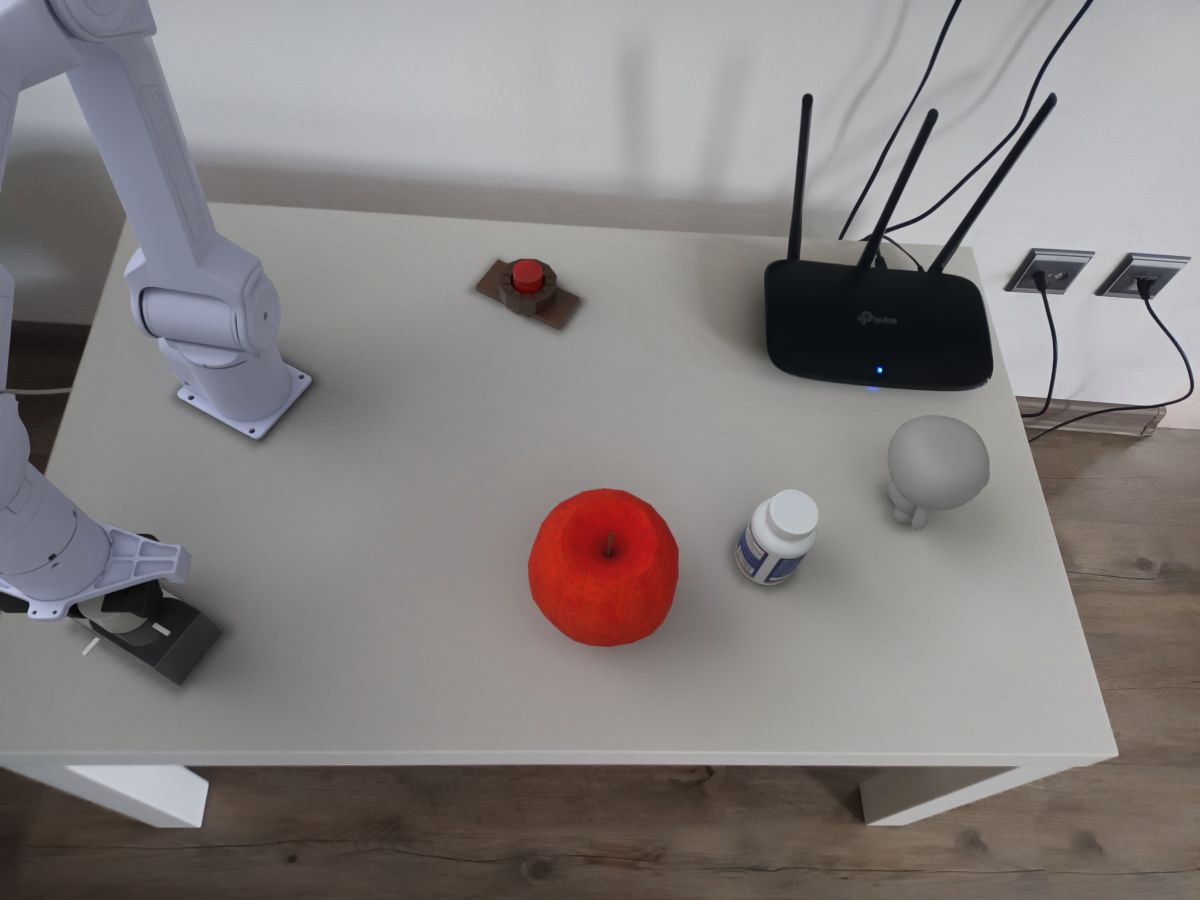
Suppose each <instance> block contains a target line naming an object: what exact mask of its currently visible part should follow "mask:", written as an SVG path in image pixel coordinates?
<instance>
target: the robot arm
mask: <svg viewBox="0 0 1200 900" xmlns="http://www.w3.org/2000/svg"><path fill="white" fill-rule="evenodd" d="M157 32H158V28H157V24H156V21H155V17H154V15H153V12H152V9H151V5H150V2H149V0H0V193H1V191H2V186H3V181H4V175H5V171H6V164H7V160H8V154H9V149H10V143H11V138H12V133H13V128H14V122H15V116H16V111H17V106H18V100H19V94H20V93H21V92H22V91H25V90H27V89H30V88H32V87H34V86H36V85H39V84H41V83H44V82H46V81H48V80H50V79H53V78H56V77H57V76H61V75H63V74H65V75H66V78H67V80H68V83H69V85H70V87H71V89H72V92H73V95H74V96H75V98H76V101H77V103H78V106H79V108H80V110H81V113H82V115H83V117H84V120H85V122H86V124H87V126H88V130H89V132H90V133H91V136H92V138H93V140H94V143H95V145H96V147H97V150H98V152H99V154H100V157H101V159H102V162H103V164H104V166H105V168H106V171H107V173H108V175H109V178H110V180H111V183H112V184H113V187H114V189H115V192H116V194H117V197H118V199H119V201H120V203H121V205H122V209H123V210H124V213H125V214H126V216H127V220H128V222H129V224H130V227H131V229H132V231H133V233H134V235H135V238H136V240H137V243H138V246H139V247H138V248H137V249H136V250H135V252H134V253H133V255H132V256H131V258H130V259H129V260H128V263H127V265H126V268H125V270H124V273H123V278H124V280H125V282H126V284H127V286H128V290H129V294H130V310H131V315H132V317H133V320H134V322H135V324H136V326H137V328H138V330H139V331H140V332H141V333H142V334H143V335H144V336H146V337H147V338H150V339H151V338H152V339H158V340H157V343H158V349H159V351H160V353H161V355H162V356H163V358H164V359H165V361H166V363H167V364H168V365H169V367H170V368H171V370H172V371H173V373H174V374H175V376H176V378H177V380H178V381H179V383H180V384H181V386H182V387H181V388H180V389H179V390H178V391H177V393H176V395H177V398H178V399H180V400H181V401H183V402H185V403H187V404H189V405H190V406H192V407H194V408H196V409H198V411H199V410H200V411H201V412H203V413H204V414H206V415H208V416H210V417H212V418H214V419H216V420H218V421H220V422H221V423H223V424H225V425H227V426H229V427H230V428H232V429H233V430H236V431H238V432H240V434H243V435H245V436H247V437H249V438H250V439H252V440H255V441H259V440H261V439H263V437H264V436H265V435H266V434H267V433H268V432H269V431H270V430H271V428H272V427H273V426H274V425H275V424H276V423H277V422H278V421H279V420H280V418H282V416H283V415H284V414H285V413H286V411H287V410H288V409H289V408H290V407H291V406H292V405H293V404H294V403H295V401H297V400H298V398H299V397H300V396H301V395H302V394H303V393H304V392H305V391H306V389H307V388H308V387H309V386H310V385H311V384H312V382H313V380H312V377H311V376H310V375H309V374H307V373H305V372H303V371H301V370H300V369H298V368H295V367H293V366H292V365H290V364H288V363H286V362H284V360H283V358H282V356H281V354H280V351H279V349H278V347H277V344H276V342H275V339H276V336H277V333H278V331H279V327H280V324H281V323H280V321H281V308H282V307H281V300H280V299H281V298H280V295H279V292H278V289H276V287H275V285H274V283H273V282H272V280H271V279H270V278H269V277H268V276H267V274H266V273H265V271H264V268H263V267H264V266H263V264H262V260H261V259H260V258H259V257H258V256H256V254H254V253H252V252H250V251H249V250H247V249H245V248H244V247H243V246H240V244H237V243H235V242H234V241H232V240H230V239H228V237H227V238H226V237H225V236H223V235H222V234H220V233H219V232H218V231H217V229H216V226H215V223H214V220H213V217H212V214H211V211H210V208H209V204H208V202H207V199H206V195H205V192H204V190H203V187H202V184H201V181H200V178H199V175H198V172H197V169H196V165H195V163H194V160H193V157H192V154H191V151H190V147H189V145H188V142H187V139H186V136H185V133H184V130H183V127H182V124H181V121H180V118H179V115H178V112H177V109H176V106H175V103H174V100H173V96H172V94H171V91H170V89H169V86H168V85H169V84H168V82H167V79H166V76H165V72H164V71H163V67H162V64H161V61H160V58H159V55H158V52H157V49H156V46H155V43H154V41H153V37H152V36H156V35H157ZM15 287H16V281H15V280H14V278H13V277H12V275H11V274H10V273H9V272H8V271H7V269H6V267H4V265H2V263H1V262H0V611H1V612H3V613H4V614H5V613H6V614H27V616H28V617H29V619H31V620H33V621H34V622H39V623H49V622H50V623H52V622H53V623H55V622H56V623H57V622H62V621H63V620H64V619H66V617H68V618H70V617H72V618H78V619H88V618H87V617H85V616H84V615H83V614H82V613H81V612H80V610H79V608H78V605H77V603H78V602H81V601H85V600H88V599H91V598H94V597H98V596H101V595H104V594H105V596H104V599H103V603H102V607H101V612H103V613H128V612H130V613H132V614H134V615H136V616H138V617H141V618H157V617H158V614H159V610H160V606H161V602H162V598H163V592H162V589H161V587H162V586H161V584H160V580H159V579H163V578H164V579H166V580H167V581H168V582H170V583H171V584H185V583H186V582H187V578H188V574H189V572H190V567H191V561H192V557H193V556H192V554H191V553H190V552H189V551H188V550H187V549H186V548H185V547H184V545H182V544H174V543H166V542H165V543H164V542H160V540H159V539H158V538H157V537H156V536H154V535H153V534H151V533H133V532H130V531H128V530H125V529H123V528H120V527H117V526H115V525H111V524H108V523H106V522H102V521H100V520H97V519H95V518H91V517H90V516H89V515H88V514H87V513H86V512H84V510H82V509H81V508H80V507H79V506H78V505H77V504H76V503H74V502H73V500H71V499H70V498H69V497H68V496H67V495H66V494H65V493H63V492H62V491H61V490H60V488H58V487H57V486H55V484H54V483H52V481H50V480H49V479H48V478H47V477H46V476H45V475H44V474H43V473H42V472H41V471H39V470H38V469H37V468H36V467H35V466H34V465H33V464H32V463H30V462H29V457H30V454H31V443H30V438H29V433H28V431H27V428H26V426H25V425H24V423H23V421H22V420H21V418H20V415H19V400H16V394H15V393H13V392H11V393H10V392H7V391H6V390H7V389H6V388H7V379H8V378H7V377H8V367H9V354H10V345H11V344H10V343H11V332H12V324H13V323H12V321H13V310H14V301H15ZM160 586H161V587H160Z"/></svg>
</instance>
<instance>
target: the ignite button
mask: <svg viewBox="0 0 1200 900" xmlns="http://www.w3.org/2000/svg"><path fill="white" fill-rule="evenodd" d="M542 282H543V270H542V267H541V266H540V265H539V264H538V263H537V262H535V261H532V260H523V261H520V262H518V263H517V264H516V265H515V266H514V268H513V285H514V287H515V288H516V289H517V290H518V291H519V292H521V293H525V294H531V293H535V292H537V291H538V290H539V289H540V288H541V287H542Z"/></svg>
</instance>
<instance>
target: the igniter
mask: <svg viewBox="0 0 1200 900" xmlns="http://www.w3.org/2000/svg"><path fill="white" fill-rule="evenodd" d="M523 260H532V261H535V262H537V263H538V264H539V265H540V266H541V267H542V270H543V282H542V287H541V288H540V289H539V290H538V291H537V292H535V293H531V294H525V293H521V292H519V291H518V290H517V289H516V288H515V287H514V285H513V268H514V266H515V265H516V264H517V263H518V262H520V261H523ZM557 277H558V275H557V274H556V273H555V271H554V270H553V268H552V267H551V266H550V264H548V263H546V262H543V261H541V260H539V259H537V258H518V259H515V260H513V261H511V262H508V263H507V262H506V261H504V260H501V259H499V258H498V259H497V260H496V261H495V262H494V264H492V265H491V266H490V268H489V269H488V271H487V272H486V273H485V274H484V275H483V277H481V278H480V280H479V281H478V283H477V284H476V285H475V291H476V292H478V293H480V294H482V295H484V296H486V297H489V298H490V299H493V300H495V301H497V302H499V303H501V304H503V305H504V306H505V307H506V308H507V309H509V310H511V311H514V312H515V313H517V314H523V315H526V316H528V317H530V318H532V319H535V320H536V321H539V322H540V323H542V324H544V325H547V326H549V327H551V328H552V329H555V330H556V331H559V330H561V328H562V326H564V324H565V322H566V321H567V320H568V318H569V317H570V315H571V314H572V313H573V312H574V310H575V309H576V307H577V306H578V305H579V303H580V300H581V297H580V296H577V295H576V294H573V293H571V292H569V291H567V290H565V289H563V288H561V287H558V279H557Z"/></svg>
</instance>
